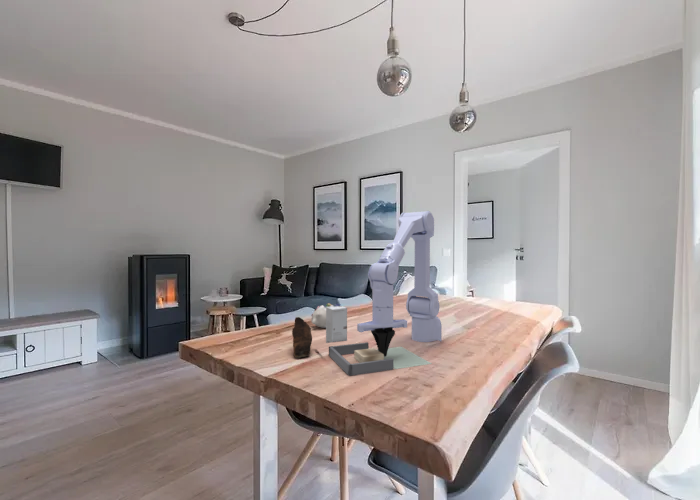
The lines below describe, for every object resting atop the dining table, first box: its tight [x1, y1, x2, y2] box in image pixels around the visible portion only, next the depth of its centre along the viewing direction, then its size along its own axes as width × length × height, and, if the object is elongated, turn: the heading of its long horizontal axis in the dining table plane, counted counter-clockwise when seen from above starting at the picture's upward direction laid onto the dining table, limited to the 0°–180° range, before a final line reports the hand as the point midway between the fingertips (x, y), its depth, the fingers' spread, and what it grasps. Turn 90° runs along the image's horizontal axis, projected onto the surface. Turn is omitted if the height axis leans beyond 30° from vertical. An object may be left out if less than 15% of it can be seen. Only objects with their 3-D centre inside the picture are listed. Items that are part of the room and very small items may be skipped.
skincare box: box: [325, 305, 348, 344], centre depth 110 cm, size 6×4×12 cm
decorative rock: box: [291, 316, 313, 359], centre depth 101 cm, size 12×6×11 cm, turn 6°
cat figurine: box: [311, 302, 335, 329], centre depth 134 cm, size 10×8×15 cm
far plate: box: [376, 346, 432, 370], centre depth 93 cm, size 11×16×2 cm
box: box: [328, 341, 394, 377], centre depth 89 cm, size 12×16×4 cm
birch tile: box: [353, 347, 384, 363], centre depth 90 cm, size 6×6×3 cm
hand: (382, 355), depth 91 cm, fingers closed
